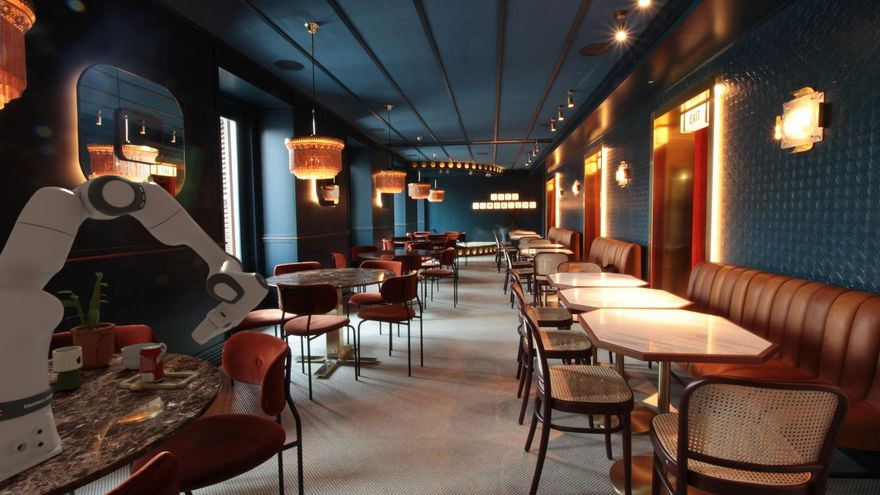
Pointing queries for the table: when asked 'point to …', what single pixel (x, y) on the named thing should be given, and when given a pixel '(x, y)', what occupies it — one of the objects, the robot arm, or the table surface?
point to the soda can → (151, 363)
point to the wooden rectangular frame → (167, 373)
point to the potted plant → (92, 331)
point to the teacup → (134, 355)
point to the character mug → (67, 367)
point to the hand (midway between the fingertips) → (201, 342)
